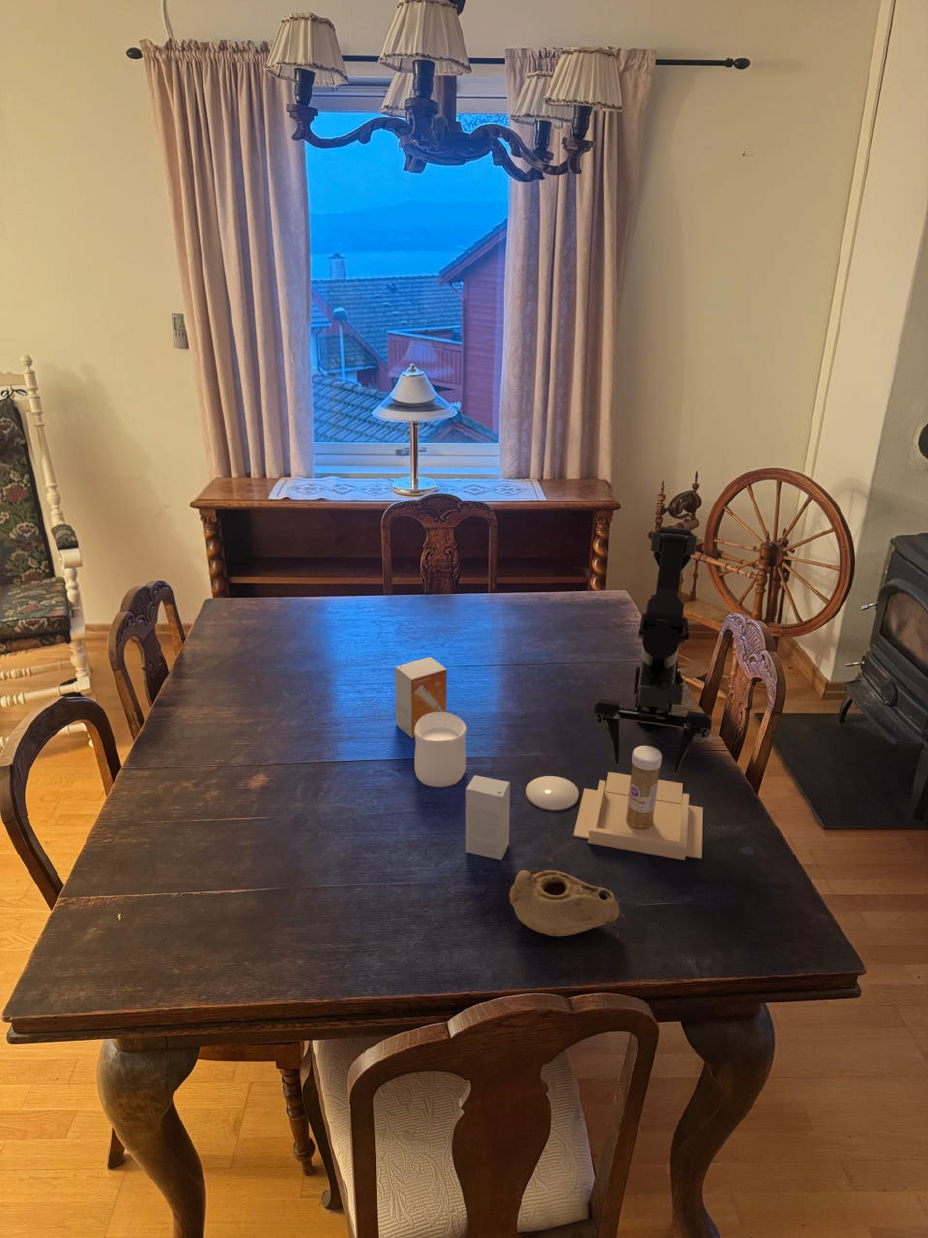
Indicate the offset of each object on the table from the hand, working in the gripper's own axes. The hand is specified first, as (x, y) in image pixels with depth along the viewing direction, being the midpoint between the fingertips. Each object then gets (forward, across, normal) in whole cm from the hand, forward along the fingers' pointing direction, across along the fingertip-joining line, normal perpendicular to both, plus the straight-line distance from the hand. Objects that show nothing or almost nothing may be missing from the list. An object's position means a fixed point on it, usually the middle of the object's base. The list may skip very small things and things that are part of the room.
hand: (645, 769), depth 137 cm
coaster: (+5, -15, +8) cm, 18 cm away
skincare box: (+17, -23, -4) cm, 29 cm away
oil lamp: (+26, -9, -12) cm, 30 cm away
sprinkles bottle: (+8, 0, +5) cm, 9 cm away
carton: (+6, 0, +7) cm, 9 cm away
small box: (-5, -44, +19) cm, 48 cm away
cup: (+5, -36, +9) cm, 37 cm away
